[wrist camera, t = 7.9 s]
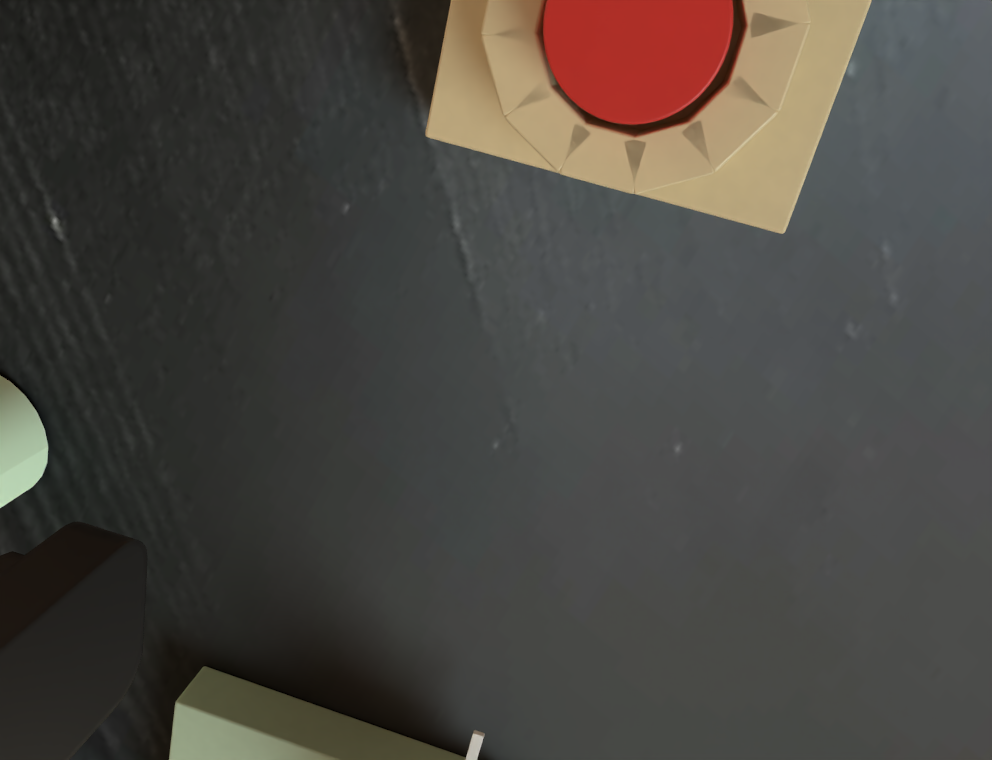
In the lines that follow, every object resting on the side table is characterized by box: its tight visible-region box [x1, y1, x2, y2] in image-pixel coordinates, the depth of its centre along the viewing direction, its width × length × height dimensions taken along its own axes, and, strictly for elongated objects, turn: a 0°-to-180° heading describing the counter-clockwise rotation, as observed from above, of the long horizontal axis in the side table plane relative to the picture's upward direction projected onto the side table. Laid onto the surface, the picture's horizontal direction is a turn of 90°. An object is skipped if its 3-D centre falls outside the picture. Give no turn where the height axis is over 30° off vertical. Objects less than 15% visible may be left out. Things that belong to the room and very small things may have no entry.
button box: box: [425, 0, 872, 234], centre depth 19 cm, size 9×7×4 cm
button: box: [543, 0, 733, 125], centre depth 17 cm, size 4×4×2 cm
